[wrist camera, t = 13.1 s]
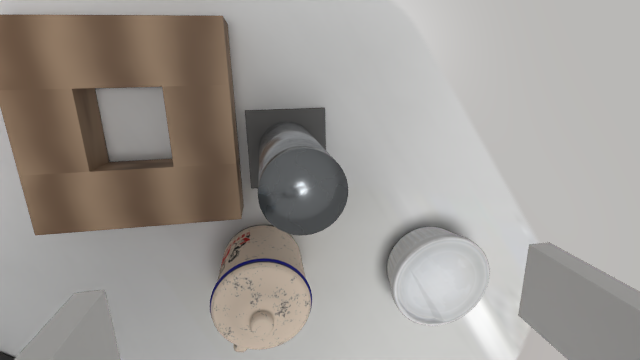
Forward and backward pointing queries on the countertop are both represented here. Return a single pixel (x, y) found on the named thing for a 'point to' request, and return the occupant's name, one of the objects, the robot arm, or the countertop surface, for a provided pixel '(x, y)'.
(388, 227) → the countertop surface
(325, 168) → the grey metal cylinder
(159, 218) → the frame
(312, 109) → the pad
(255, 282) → the teacup with lid
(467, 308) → the ramekin
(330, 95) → the countertop surface
